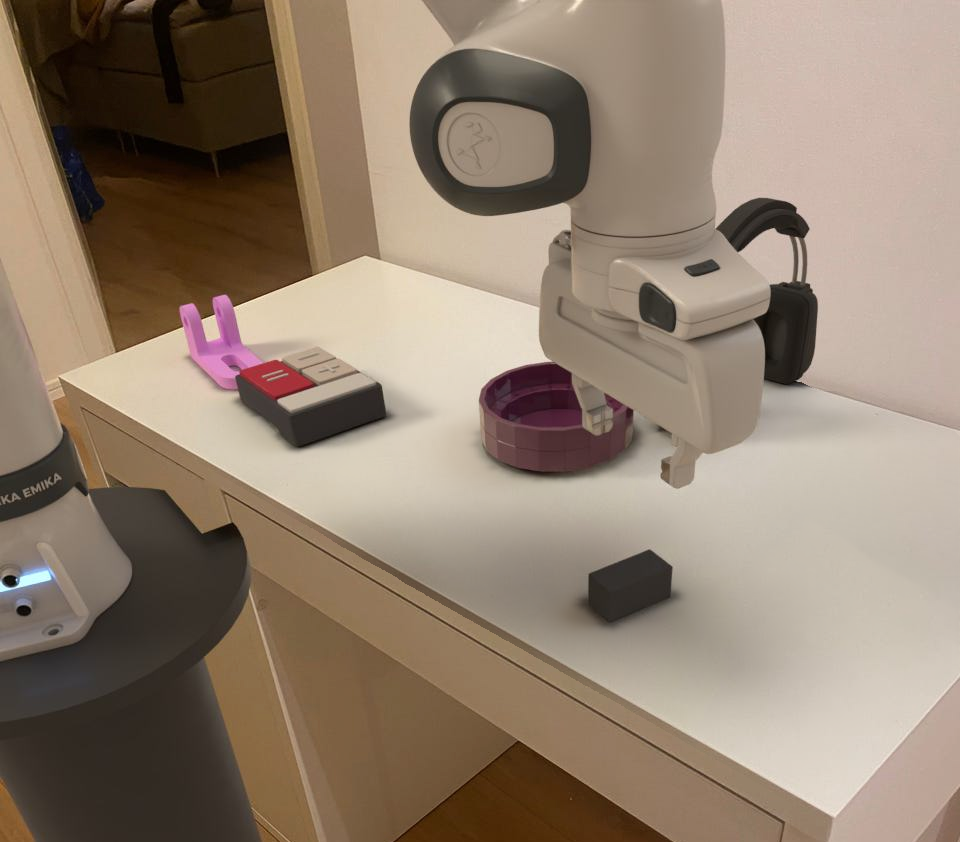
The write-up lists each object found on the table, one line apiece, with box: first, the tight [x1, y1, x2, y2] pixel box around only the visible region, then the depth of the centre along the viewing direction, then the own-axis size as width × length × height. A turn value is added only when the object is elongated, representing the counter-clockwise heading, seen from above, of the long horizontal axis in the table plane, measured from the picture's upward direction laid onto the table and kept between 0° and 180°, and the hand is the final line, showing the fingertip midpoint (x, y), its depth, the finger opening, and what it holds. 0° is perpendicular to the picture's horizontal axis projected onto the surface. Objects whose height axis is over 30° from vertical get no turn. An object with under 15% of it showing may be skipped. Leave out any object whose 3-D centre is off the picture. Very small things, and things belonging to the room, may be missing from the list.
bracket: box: [179, 294, 264, 391], centre depth 117 cm, size 13×6×7 cm, turn 32°
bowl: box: [478, 361, 634, 472], centre depth 99 cm, size 15×15×5 cm
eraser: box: [587, 549, 674, 623], centre depth 79 cm, size 6×3×3 cm, turn 120°
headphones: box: [715, 197, 819, 385], centre depth 99 cm, size 22×6×20 cm, turn 135°
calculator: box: [235, 346, 387, 447], centre depth 109 cm, size 11×4×15 cm
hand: (635, 455), depth 71 cm, fingers open, 8 cm apart
